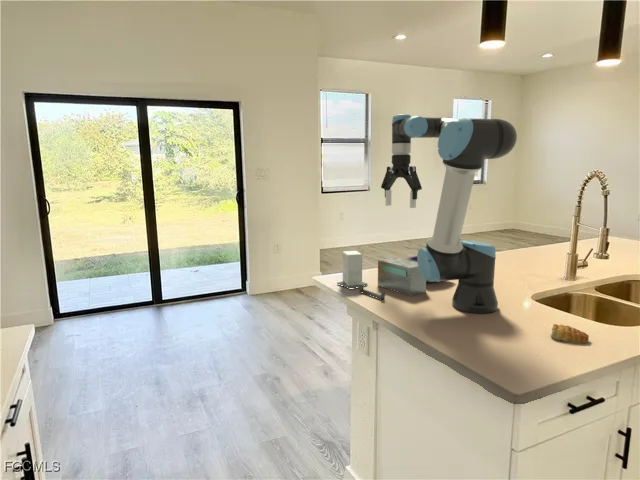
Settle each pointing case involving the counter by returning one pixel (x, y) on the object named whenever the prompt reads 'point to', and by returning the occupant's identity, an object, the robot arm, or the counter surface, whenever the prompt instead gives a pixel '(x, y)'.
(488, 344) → the counter surface
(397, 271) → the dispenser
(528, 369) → the counter surface
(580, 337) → the pastry
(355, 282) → the small box
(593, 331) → the counter surface
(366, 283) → the coaster
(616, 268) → the counter surface
